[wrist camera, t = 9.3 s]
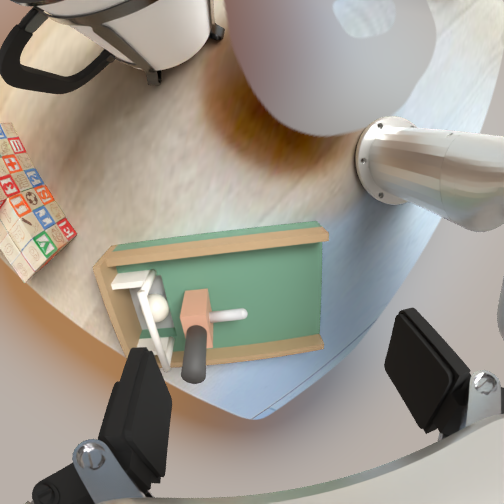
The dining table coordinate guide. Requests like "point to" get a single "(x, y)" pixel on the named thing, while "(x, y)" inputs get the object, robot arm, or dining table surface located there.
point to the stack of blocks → (27, 210)
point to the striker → (200, 331)
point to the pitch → (220, 291)
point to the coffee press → (113, 37)
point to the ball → (158, 307)
